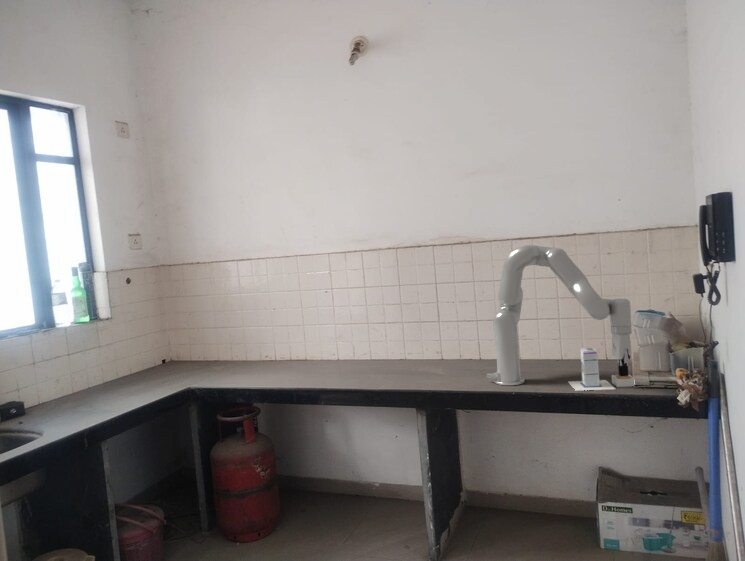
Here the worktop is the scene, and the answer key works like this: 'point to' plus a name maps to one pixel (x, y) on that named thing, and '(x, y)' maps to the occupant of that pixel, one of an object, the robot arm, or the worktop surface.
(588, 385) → the syrup box
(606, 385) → the white square panel
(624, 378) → the button
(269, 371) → the worktop surface
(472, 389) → the worktop surface
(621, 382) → the button housing
